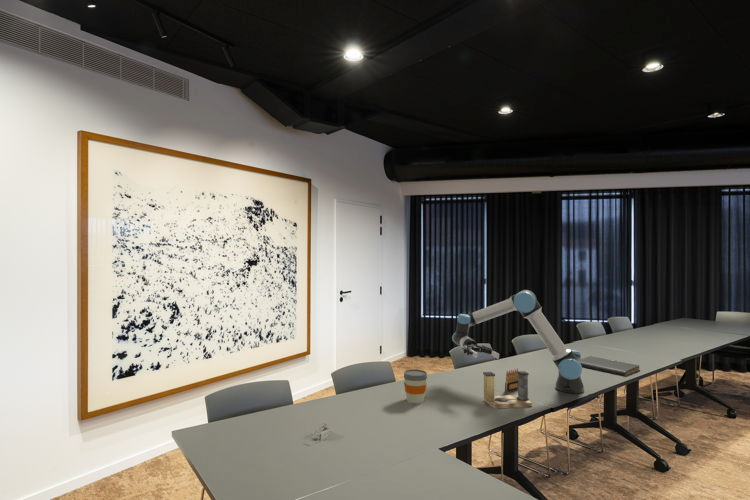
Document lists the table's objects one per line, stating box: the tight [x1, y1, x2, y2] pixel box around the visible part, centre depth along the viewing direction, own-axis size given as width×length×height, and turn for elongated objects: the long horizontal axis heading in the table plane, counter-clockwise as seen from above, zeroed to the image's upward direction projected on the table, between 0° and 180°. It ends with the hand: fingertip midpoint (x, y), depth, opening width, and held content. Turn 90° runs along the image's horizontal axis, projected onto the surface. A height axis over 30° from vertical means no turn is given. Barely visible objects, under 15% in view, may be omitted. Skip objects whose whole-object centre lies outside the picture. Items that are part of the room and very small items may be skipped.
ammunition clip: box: [504, 368, 519, 393], centre depth 243 cm, size 11×2×12 cm, turn 123°
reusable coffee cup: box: [403, 368, 428, 404], centre depth 226 cm, size 13×13×15 cm
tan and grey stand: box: [483, 370, 533, 409], centre depth 222 cm, size 22×12×16 cm, turn 98°
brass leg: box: [483, 371, 496, 402], centre depth 220 cm, size 5×5×14 cm
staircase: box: [311, 422, 330, 442], centre depth 179 cm, size 6×4×6 cm, turn 141°
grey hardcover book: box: [581, 355, 640, 377], centre depth 292 cm, size 33×4×24 cm
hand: (487, 356), depth 228 cm, fingers open, 13 cm apart
